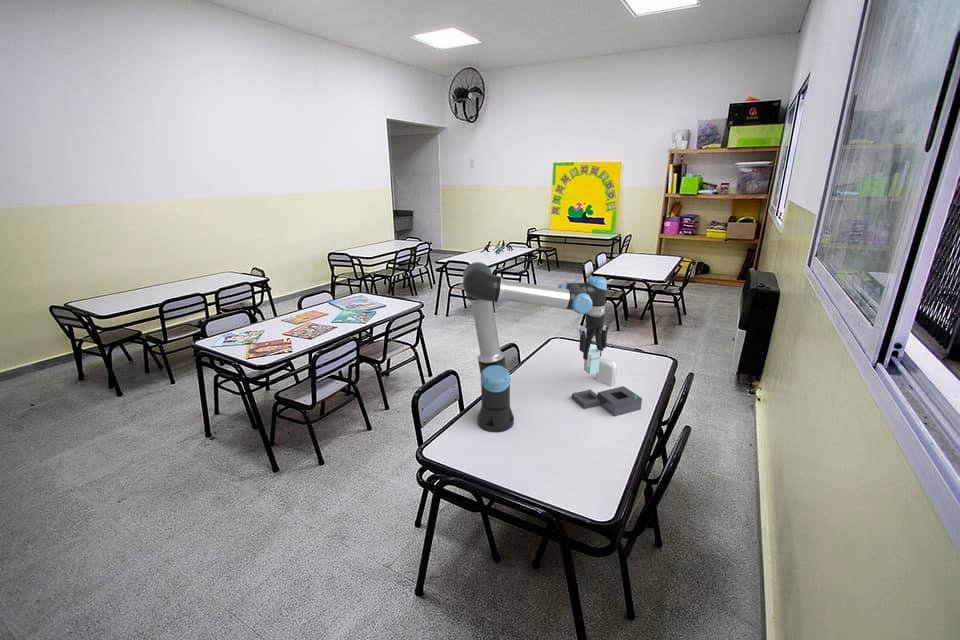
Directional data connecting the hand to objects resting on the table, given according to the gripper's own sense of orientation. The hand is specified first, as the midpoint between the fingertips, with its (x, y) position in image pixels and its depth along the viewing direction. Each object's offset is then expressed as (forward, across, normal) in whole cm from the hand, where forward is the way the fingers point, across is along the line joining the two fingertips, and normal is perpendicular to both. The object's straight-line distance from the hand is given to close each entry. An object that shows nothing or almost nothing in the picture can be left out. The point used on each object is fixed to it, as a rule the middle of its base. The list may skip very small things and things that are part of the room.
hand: (591, 364), depth 189 cm
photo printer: (+19, +18, +12) cm, 29 cm away
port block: (+19, +9, -9) cm, 23 cm away
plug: (+3, 0, 0) cm, 3 cm away
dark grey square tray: (+19, -1, 0) cm, 19 cm away
